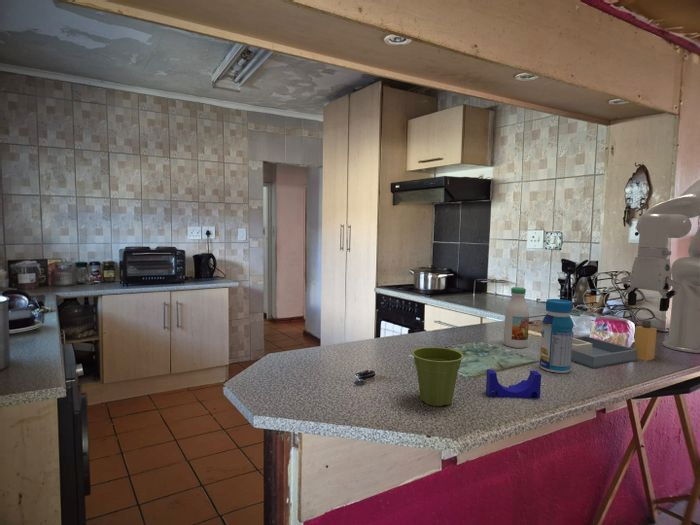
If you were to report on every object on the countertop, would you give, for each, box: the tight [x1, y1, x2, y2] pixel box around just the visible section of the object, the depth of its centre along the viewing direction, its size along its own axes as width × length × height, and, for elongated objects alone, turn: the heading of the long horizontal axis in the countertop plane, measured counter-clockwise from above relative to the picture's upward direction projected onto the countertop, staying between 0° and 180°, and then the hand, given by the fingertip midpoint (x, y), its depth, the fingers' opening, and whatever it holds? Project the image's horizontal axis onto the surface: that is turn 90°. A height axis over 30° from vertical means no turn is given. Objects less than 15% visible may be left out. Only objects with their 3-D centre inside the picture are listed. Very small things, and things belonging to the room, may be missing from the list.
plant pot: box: [411, 346, 465, 407], centre depth 102 cm, size 12×12×11 cm
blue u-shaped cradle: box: [485, 368, 542, 400], centre depth 107 cm, size 12×4×6 cm, turn 88°
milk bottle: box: [503, 286, 530, 349], centre depth 150 cm, size 8×8×20 cm
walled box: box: [571, 335, 638, 369], centre depth 140 cm, size 20×18×5 cm
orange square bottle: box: [633, 320, 658, 362], centre depth 139 cm, size 4×4×12 cm
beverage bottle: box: [539, 298, 575, 374], centre depth 126 cm, size 8×8×20 cm
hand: (647, 308), depth 138 cm, fingers open, 9 cm apart
